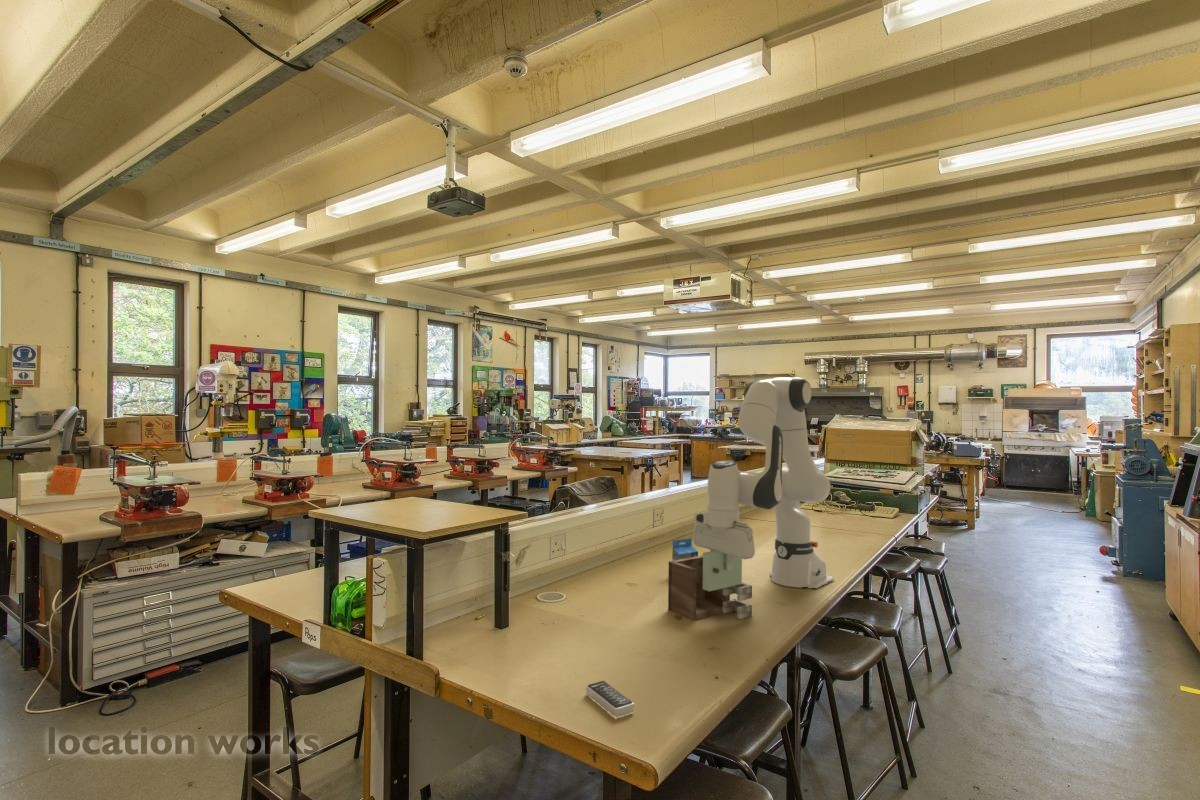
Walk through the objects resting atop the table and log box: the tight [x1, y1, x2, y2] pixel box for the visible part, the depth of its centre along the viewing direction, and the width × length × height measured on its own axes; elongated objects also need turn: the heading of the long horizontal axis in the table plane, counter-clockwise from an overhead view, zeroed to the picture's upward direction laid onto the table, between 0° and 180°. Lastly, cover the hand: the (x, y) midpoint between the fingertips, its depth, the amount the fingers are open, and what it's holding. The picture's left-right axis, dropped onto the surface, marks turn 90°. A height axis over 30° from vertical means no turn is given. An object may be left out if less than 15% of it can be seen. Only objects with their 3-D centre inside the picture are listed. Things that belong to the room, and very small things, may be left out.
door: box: [702, 550, 743, 591], centre depth 159 cm, size 13×4×10 cm, turn 125°
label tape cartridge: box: [671, 537, 699, 561], centre depth 202 cm, size 9×4×12 cm, turn 120°
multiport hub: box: [585, 680, 635, 717], centre depth 112 cm, size 4×11×2 cm, turn 32°
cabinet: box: [667, 554, 753, 621], centre depth 164 cm, size 17×16×14 cm
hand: (722, 568), depth 160 cm, fingers closed on door, 2 cm apart
